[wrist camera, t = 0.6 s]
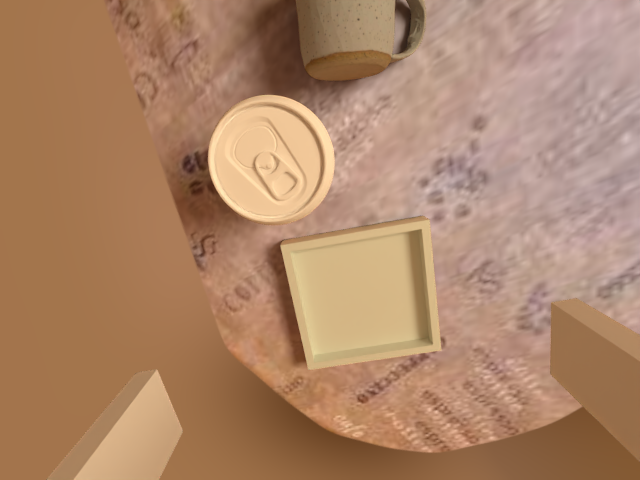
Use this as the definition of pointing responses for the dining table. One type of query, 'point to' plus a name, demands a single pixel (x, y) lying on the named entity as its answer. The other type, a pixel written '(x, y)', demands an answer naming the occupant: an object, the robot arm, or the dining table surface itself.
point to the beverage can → (271, 159)
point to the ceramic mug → (353, 36)
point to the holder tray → (364, 292)
